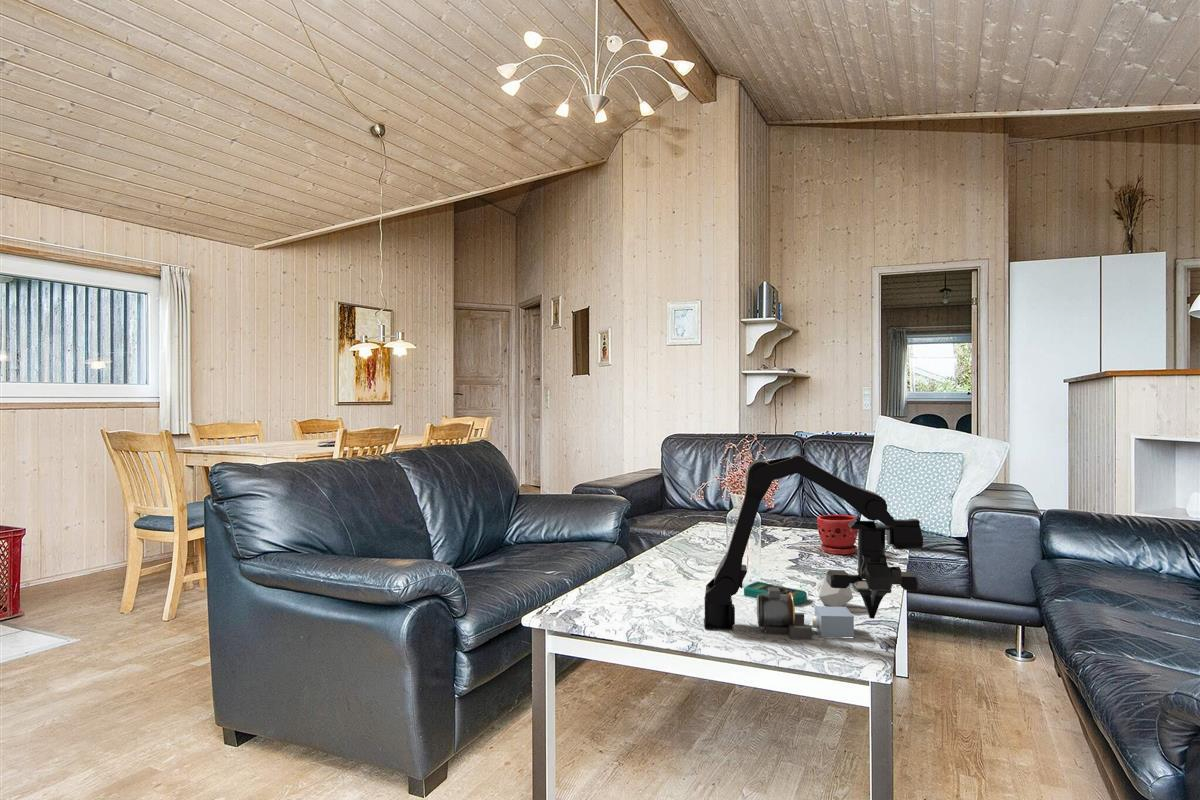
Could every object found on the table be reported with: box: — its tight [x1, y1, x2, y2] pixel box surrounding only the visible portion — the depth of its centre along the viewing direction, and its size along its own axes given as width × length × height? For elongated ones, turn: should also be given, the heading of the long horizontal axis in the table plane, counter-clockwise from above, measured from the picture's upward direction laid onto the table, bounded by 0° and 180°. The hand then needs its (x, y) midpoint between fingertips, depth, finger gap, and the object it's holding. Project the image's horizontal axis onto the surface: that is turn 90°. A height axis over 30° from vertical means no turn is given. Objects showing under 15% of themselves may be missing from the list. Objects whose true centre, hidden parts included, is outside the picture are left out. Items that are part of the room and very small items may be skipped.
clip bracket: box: [788, 612, 813, 641], centre depth 159 cm, size 5×11×2 cm, turn 173°
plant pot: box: [816, 514, 858, 555], centre depth 238 cm, size 13×13×12 cm
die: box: [816, 576, 854, 607], centre depth 177 cm, size 8×9×10 cm
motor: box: [756, 587, 796, 636], centre depth 159 cm, size 8×8×9 cm
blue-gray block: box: [811, 605, 855, 639], centre depth 158 cm, size 8×7×5 cm
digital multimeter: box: [743, 581, 808, 607], centre depth 185 cm, size 8×15×3 cm, turn 48°
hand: (871, 618), depth 157 cm, fingers closed
